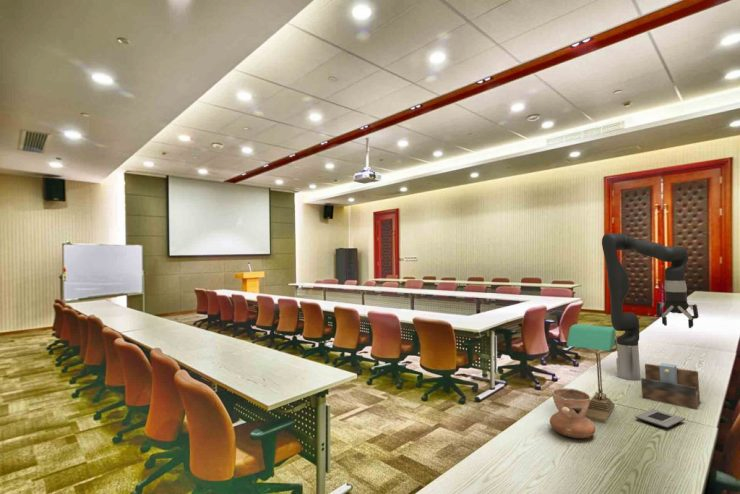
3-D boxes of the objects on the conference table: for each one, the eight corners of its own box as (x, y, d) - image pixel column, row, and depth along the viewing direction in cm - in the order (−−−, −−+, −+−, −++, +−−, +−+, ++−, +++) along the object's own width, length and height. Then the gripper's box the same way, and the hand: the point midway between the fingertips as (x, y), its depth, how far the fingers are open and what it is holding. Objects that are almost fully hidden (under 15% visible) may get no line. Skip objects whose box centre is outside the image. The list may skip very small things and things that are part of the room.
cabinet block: (660, 389, 157) (658, 365, 157) (663, 385, 161) (661, 362, 161) (675, 392, 153) (673, 368, 154) (677, 388, 157) (676, 365, 158)
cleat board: (642, 398, 160) (640, 368, 161) (647, 392, 167) (645, 363, 168) (696, 409, 147) (694, 377, 148) (700, 402, 154) (697, 371, 154)
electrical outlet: (667, 432, 130) (667, 425, 130) (635, 421, 139) (634, 415, 139) (685, 424, 136) (685, 417, 136) (653, 414, 145) (652, 408, 146)
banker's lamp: (625, 409, 149) (619, 324, 151) (615, 427, 134) (609, 332, 136) (582, 400, 160) (577, 320, 162) (568, 416, 145) (563, 328, 146)
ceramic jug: (590, 448, 120) (588, 405, 121) (543, 435, 130) (542, 395, 131) (600, 430, 134) (599, 390, 134) (557, 419, 143) (556, 382, 144)
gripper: (653, 290, 166) (655, 326, 166) (695, 292, 156) (697, 330, 155) (657, 289, 171) (659, 323, 171) (698, 290, 160) (700, 327, 160)
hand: (677, 326), depth 163 cm, fingers open, 8 cm apart
